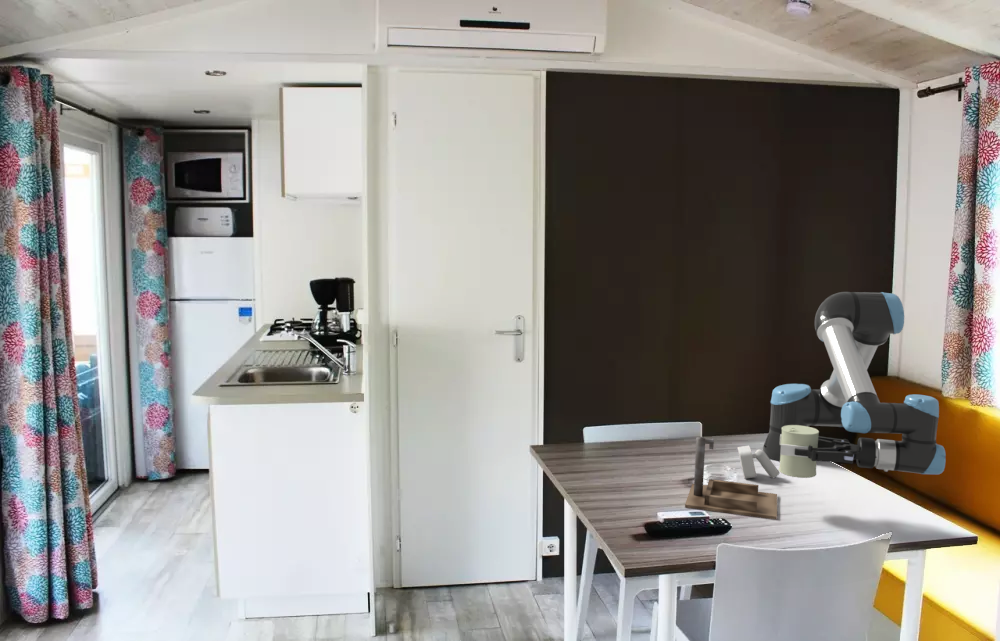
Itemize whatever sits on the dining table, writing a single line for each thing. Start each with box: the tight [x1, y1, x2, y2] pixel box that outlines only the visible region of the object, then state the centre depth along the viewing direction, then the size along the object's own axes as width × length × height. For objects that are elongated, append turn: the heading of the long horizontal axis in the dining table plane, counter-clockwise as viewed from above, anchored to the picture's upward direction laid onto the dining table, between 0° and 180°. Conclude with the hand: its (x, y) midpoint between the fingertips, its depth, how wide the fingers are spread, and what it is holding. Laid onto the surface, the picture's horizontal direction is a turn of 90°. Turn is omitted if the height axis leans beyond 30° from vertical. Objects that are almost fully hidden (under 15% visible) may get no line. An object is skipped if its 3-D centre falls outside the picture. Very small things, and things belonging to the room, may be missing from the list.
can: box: [778, 425, 820, 479], centre depth 202 cm, size 9×9×12 cm
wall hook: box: [737, 445, 781, 480], centre depth 231 cm, size 8×10×10 cm
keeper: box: [684, 436, 778, 520], centre depth 209 cm, size 23×18×17 cm
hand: (780, 444), depth 203 cm, fingers closed on can, 9 cm apart
